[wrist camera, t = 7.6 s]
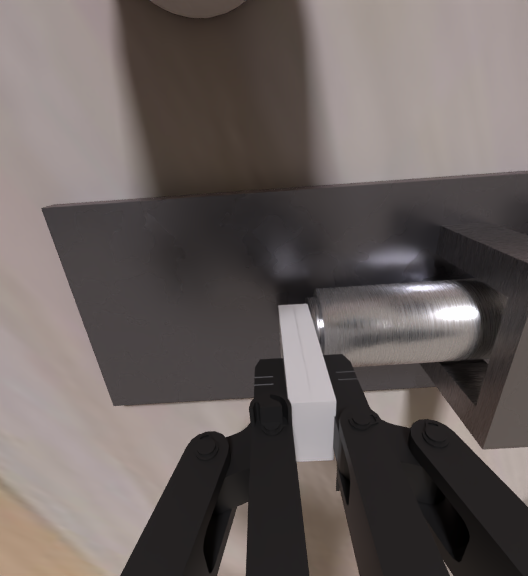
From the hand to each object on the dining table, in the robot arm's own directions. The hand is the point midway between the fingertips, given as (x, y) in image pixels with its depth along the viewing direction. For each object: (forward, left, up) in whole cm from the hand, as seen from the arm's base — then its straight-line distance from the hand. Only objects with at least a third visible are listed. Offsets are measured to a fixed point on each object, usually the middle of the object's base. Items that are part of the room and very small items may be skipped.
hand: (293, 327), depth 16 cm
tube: (+10, 0, -2) cm, 10 cm away
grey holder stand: (+4, 0, -3) cm, 5 cm away
